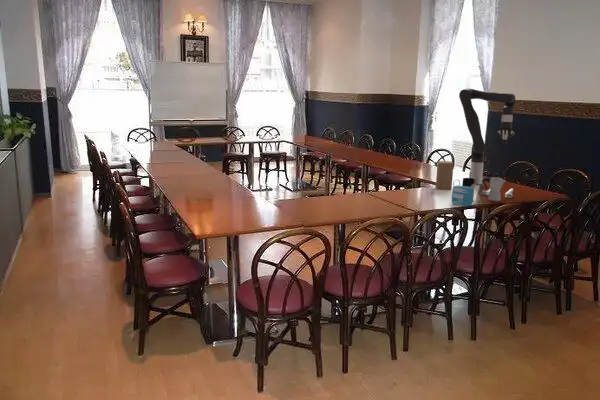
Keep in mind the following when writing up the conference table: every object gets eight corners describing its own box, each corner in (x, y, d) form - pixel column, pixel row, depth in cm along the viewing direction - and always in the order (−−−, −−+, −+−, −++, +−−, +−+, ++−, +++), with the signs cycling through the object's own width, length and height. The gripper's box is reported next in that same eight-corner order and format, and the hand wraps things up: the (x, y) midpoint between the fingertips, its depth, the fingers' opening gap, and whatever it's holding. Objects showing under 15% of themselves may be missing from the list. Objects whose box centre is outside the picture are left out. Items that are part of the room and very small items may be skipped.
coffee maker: (504, 199, 334) (507, 173, 330) (503, 202, 326) (506, 175, 322) (481, 197, 340) (483, 171, 336) (480, 199, 332) (482, 173, 328)
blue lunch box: (472, 202, 323) (474, 180, 320) (450, 200, 330) (452, 178, 327) (475, 200, 330) (477, 178, 327) (453, 197, 337) (455, 176, 334)
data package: (451, 204, 320) (452, 185, 317) (454, 202, 323) (455, 184, 320) (468, 207, 312) (470, 188, 309) (471, 205, 315) (473, 187, 312)
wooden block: (448, 187, 374) (451, 161, 369) (451, 190, 364) (453, 163, 360) (435, 187, 375) (437, 161, 370) (437, 189, 365) (439, 162, 361)
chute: (481, 194, 349) (481, 191, 349) (488, 189, 367) (488, 186, 367) (511, 198, 339) (511, 194, 338) (517, 192, 357) (517, 189, 356)
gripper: (496, 120, 362) (493, 144, 366) (515, 121, 355) (512, 145, 359) (498, 120, 369) (496, 143, 372) (517, 121, 362) (514, 144, 365)
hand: (504, 144), depth 366 cm, fingers closed
